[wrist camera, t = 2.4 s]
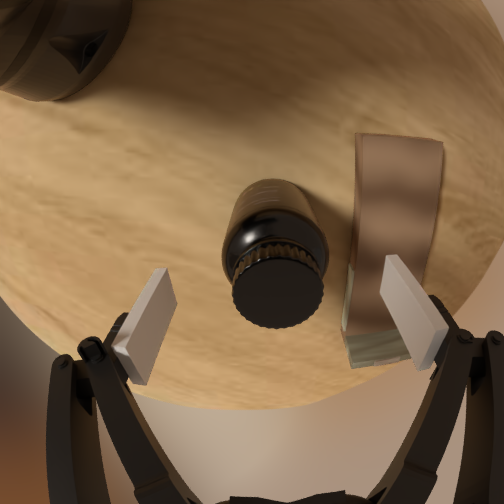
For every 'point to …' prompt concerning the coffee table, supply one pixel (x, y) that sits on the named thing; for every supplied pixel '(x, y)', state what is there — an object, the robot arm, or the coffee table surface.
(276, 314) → the supplement bottle
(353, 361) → the rail flange
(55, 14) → the robot arm
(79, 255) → the coffee table surface
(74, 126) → the coffee table surface
